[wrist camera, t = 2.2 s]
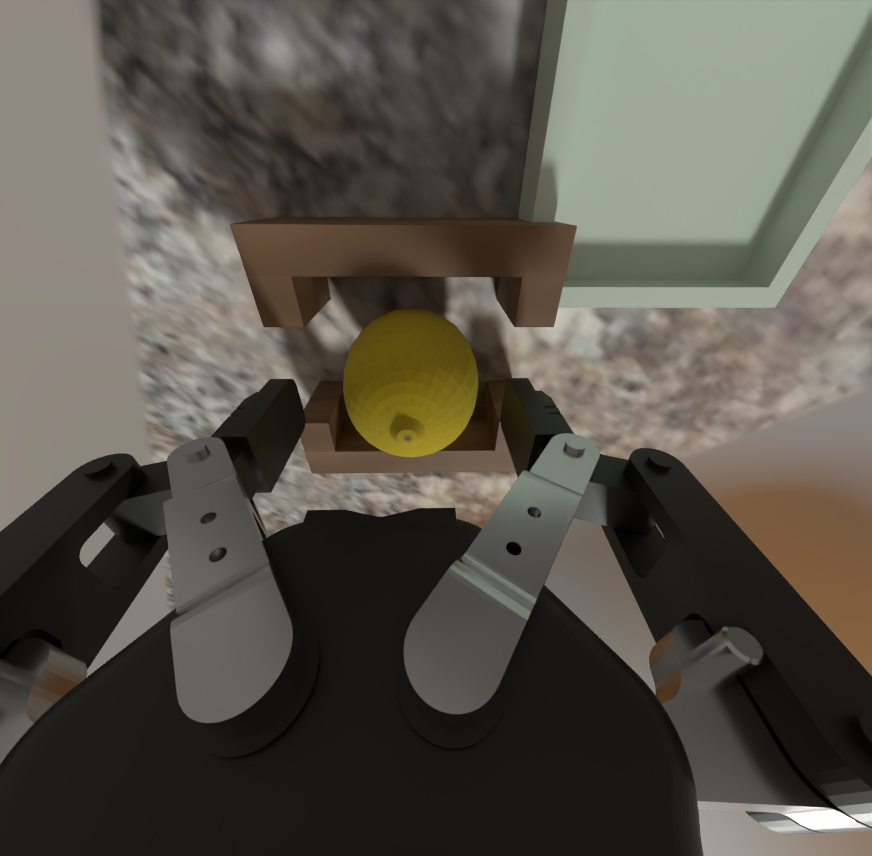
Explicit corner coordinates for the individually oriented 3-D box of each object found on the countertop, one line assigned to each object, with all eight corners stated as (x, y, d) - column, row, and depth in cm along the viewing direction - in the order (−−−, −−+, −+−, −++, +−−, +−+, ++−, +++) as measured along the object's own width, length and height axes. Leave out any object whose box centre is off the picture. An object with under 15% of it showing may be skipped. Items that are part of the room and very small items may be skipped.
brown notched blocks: (279, 217, 13) (229, 224, 10) (541, 218, 13) (577, 226, 10) (331, 427, 20) (311, 473, 16) (505, 426, 20) (519, 471, 17)
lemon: (435, 404, 19) (439, 513, 12) (347, 362, 17) (297, 464, 11) (488, 323, 16) (529, 410, 9) (389, 263, 14) (355, 321, 8)
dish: (566, -142, 8) (605, -238, 6) (965, -132, 8) (1114, -223, 7) (507, 293, 15) (518, 307, 13) (732, 293, 15) (775, 307, 13)
